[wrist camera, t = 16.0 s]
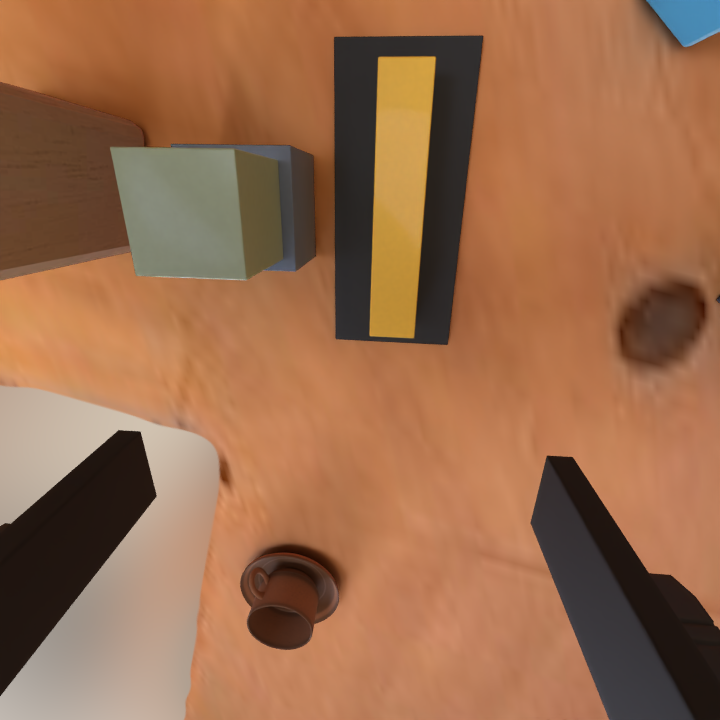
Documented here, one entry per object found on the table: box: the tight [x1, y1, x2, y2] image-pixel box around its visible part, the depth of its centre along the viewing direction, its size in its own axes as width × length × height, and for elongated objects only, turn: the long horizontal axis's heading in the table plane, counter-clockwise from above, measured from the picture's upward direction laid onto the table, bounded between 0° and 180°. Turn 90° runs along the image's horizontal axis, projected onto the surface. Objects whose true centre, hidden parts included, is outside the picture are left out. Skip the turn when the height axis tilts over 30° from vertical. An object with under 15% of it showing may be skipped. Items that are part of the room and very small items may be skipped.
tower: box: [110, 144, 316, 280], centre depth 26 cm, size 8×8×14 cm
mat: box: [334, 36, 483, 345], centre depth 31 cm, size 22×10×1 cm, turn 179°
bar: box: [369, 56, 436, 338], centre depth 29 cm, size 18×4×4 cm, turn 179°
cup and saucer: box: [240, 552, 339, 650], centre depth 46 cm, size 12×12×6 cm
